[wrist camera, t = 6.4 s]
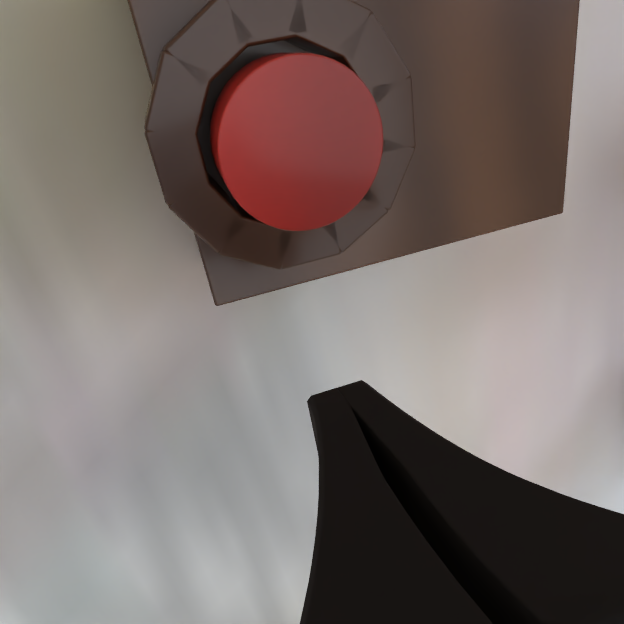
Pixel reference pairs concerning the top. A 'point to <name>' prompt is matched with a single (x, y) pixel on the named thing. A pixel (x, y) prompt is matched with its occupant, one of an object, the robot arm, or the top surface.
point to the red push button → (296, 139)
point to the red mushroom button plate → (394, 115)
